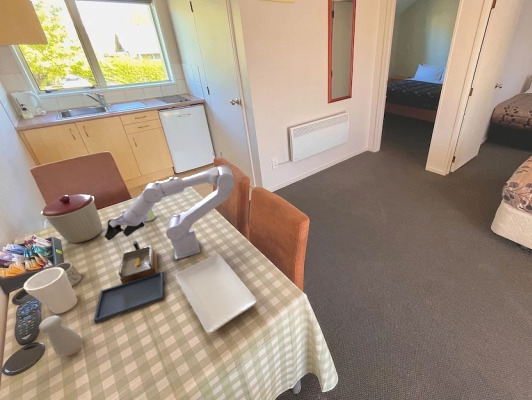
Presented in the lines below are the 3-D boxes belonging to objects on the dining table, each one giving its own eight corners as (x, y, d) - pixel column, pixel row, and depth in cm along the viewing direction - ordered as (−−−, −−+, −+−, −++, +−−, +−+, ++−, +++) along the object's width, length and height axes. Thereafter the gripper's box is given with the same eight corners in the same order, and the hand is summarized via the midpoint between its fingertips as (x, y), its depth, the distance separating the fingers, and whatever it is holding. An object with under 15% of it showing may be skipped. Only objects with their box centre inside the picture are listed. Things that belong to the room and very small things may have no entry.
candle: (151, 221, 131) (145, 207, 126) (141, 221, 131) (135, 207, 127) (157, 215, 135) (151, 202, 131) (147, 215, 135) (141, 202, 131)
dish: (153, 247, 110) (149, 237, 107) (152, 268, 99) (148, 258, 96) (125, 255, 106) (120, 245, 103) (121, 278, 95) (115, 268, 93)
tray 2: (209, 341, 78) (206, 334, 76) (176, 280, 98) (173, 273, 96) (260, 308, 87) (258, 301, 85) (220, 258, 108) (218, 252, 106)
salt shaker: (69, 340, 79) (45, 312, 72) (89, 338, 79) (67, 310, 72) (54, 360, 74) (26, 332, 67) (75, 358, 74) (50, 330, 67)
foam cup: (62, 320, 85) (39, 292, 78) (39, 315, 86) (14, 287, 80) (89, 296, 92) (71, 269, 86) (68, 292, 94) (48, 265, 87)
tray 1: (163, 273, 101) (162, 271, 100) (163, 299, 91) (162, 296, 90) (102, 293, 93) (100, 290, 93) (95, 323, 83) (93, 320, 83)
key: (135, 259, 103) (135, 258, 102) (141, 258, 103) (140, 257, 103) (134, 267, 99) (134, 266, 99) (140, 265, 100) (139, 264, 100)
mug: (79, 272, 102) (71, 259, 99) (82, 281, 98) (73, 268, 95) (45, 286, 96) (35, 273, 93) (46, 297, 92) (35, 284, 89)
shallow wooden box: (157, 255, 110) (155, 249, 108) (157, 274, 101) (154, 268, 99) (126, 264, 106) (123, 258, 104) (123, 285, 96) (119, 279, 95)
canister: (70, 253, 112) (42, 212, 101) (54, 239, 120) (26, 199, 109) (117, 231, 125) (97, 192, 114) (99, 219, 133) (78, 182, 122)
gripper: (146, 201, 104) (125, 225, 106) (113, 204, 90) (90, 232, 92) (158, 213, 104) (137, 238, 106) (127, 218, 90) (104, 246, 91)
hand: (116, 236), depth 99 cm, fingers open, 7 cm apart
